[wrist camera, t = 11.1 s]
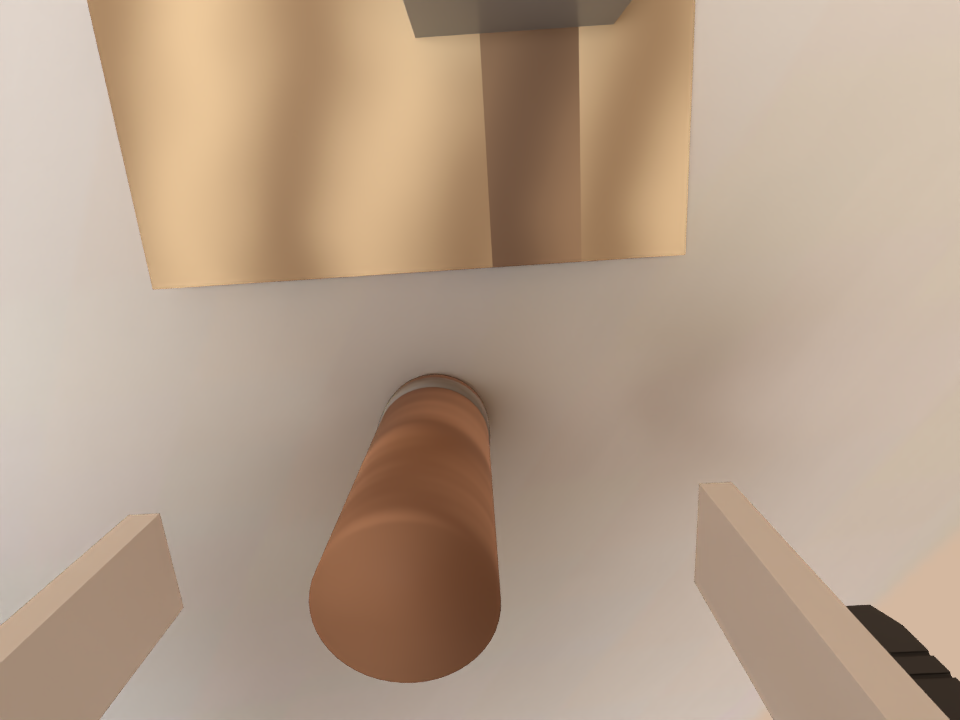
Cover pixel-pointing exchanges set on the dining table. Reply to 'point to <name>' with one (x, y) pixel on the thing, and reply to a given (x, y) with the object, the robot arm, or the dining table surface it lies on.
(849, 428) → the dining table surface
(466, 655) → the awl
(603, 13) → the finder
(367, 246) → the board
